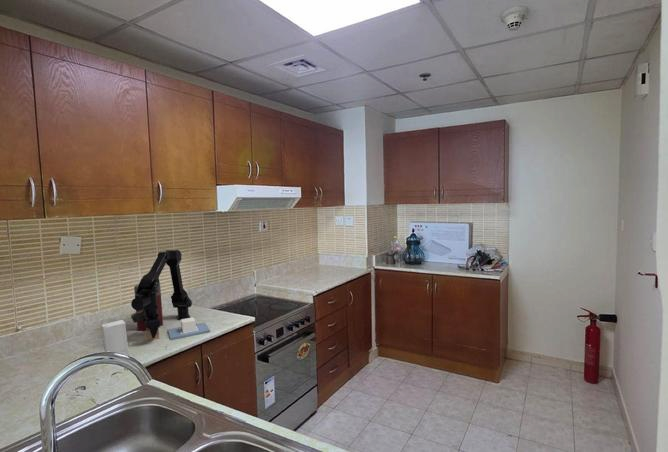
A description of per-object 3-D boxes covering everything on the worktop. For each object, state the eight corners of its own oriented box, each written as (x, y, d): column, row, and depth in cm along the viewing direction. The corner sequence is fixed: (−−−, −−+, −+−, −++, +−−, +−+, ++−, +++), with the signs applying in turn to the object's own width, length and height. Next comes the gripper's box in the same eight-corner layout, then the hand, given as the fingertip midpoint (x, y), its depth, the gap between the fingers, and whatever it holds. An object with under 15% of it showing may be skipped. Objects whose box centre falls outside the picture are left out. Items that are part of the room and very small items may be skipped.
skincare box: (126, 352, 163) (123, 318, 162) (129, 356, 158) (126, 322, 157) (104, 357, 157) (101, 323, 156) (106, 362, 153) (103, 327, 152)
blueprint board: (167, 331, 187) (167, 329, 187) (204, 324, 196) (204, 321, 196) (170, 340, 175) (170, 337, 175) (210, 332, 183) (210, 329, 183)
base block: (181, 329, 186) (180, 319, 186) (193, 326, 189) (193, 317, 189) (183, 332, 181) (182, 322, 181) (196, 330, 184) (195, 320, 184)
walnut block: (147, 337, 179) (146, 327, 179) (158, 335, 182) (157, 325, 181) (147, 341, 175) (146, 330, 174) (159, 338, 177) (158, 328, 177)
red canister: (143, 324, 198) (139, 273, 196) (163, 324, 197) (159, 272, 195) (133, 330, 189) (128, 276, 187) (154, 330, 188) (149, 276, 186)
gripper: (130, 302, 181) (133, 333, 182) (131, 311, 165) (134, 346, 166) (156, 298, 186) (158, 328, 188) (159, 307, 170) (161, 340, 171)
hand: (152, 335), depth 178 cm, fingers open, 7 cm apart
